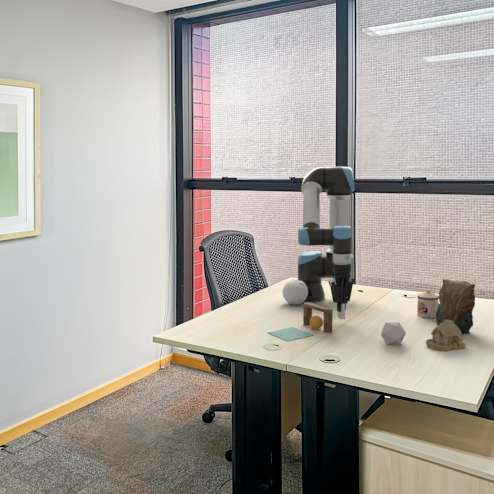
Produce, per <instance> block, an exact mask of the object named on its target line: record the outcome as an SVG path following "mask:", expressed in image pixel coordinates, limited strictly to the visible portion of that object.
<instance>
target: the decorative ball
mask: <svg viewBox="0 0 494 494" xmlns="http://www.w3.org/2000/svg"><path fill="white" fill-rule="evenodd" d="M307 295H308V288H307V286H306V284H305V283H304V282H303V281H300V280H298V279H291V280H289V281H286V283H285V284H284V286H283V288H282V296H283V299H284V300H285V301H286V302H287V303H288V304H290V305H293V306H296V305H301V304H302V303H305V300H306V298H307Z"/></svg>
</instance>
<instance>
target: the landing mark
mask: <svg viewBox="0 0 494 494" xmlns="http://www.w3.org/2000/svg"><path fill="white" fill-rule="evenodd" d="M266 333H267V334H268V335H272V336H274V337H276V338H279V339H280V340H282V341H285V342H290V341H295V340H299V339H303V338H308V337H312V336H314V334H313V333H310V332H307V331H305V330H302V329H299V328H296V327H295V326H292V327H287V328H283V329H279V330H278V329H277V330H273V331H269V332H266Z"/></svg>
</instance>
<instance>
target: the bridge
mask: <svg viewBox="0 0 494 494" xmlns="http://www.w3.org/2000/svg"><path fill="white" fill-rule="evenodd" d="M302 303H303V315H302V316H303V319H302V320H303V325H304V326H306V327H307V326H310V319H311V317H313V310H315V311H318V312H320V313H323V318H322V319H323V325H322V327H323V329H322V331H323V333H326V334H328V333H332V332H333V316H334V314H333V311H334V310H333V308H329V307H326V306H323V305H320V304H317V303H314V302H302Z"/></svg>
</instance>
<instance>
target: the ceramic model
mask: <svg viewBox="0 0 494 494" xmlns="http://www.w3.org/2000/svg"><path fill="white" fill-rule="evenodd" d="M430 334H431V337H432V338H429V339H426V341H425V345H426V347H427V348H429V349H431V350H435V351H451V350H459V349H465V348H466V344H465V343H464V342H463V341H464V340H465V339H464V337H463V334H462V333H461V331H460V329H459V328H458V327H457V326H456V325H455V324H454V322H453V321H450V320H448V319H446V320H445V322H443V323H440V324H439V325H438V326H437V325H436V327H434V329H432V332H430Z"/></svg>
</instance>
